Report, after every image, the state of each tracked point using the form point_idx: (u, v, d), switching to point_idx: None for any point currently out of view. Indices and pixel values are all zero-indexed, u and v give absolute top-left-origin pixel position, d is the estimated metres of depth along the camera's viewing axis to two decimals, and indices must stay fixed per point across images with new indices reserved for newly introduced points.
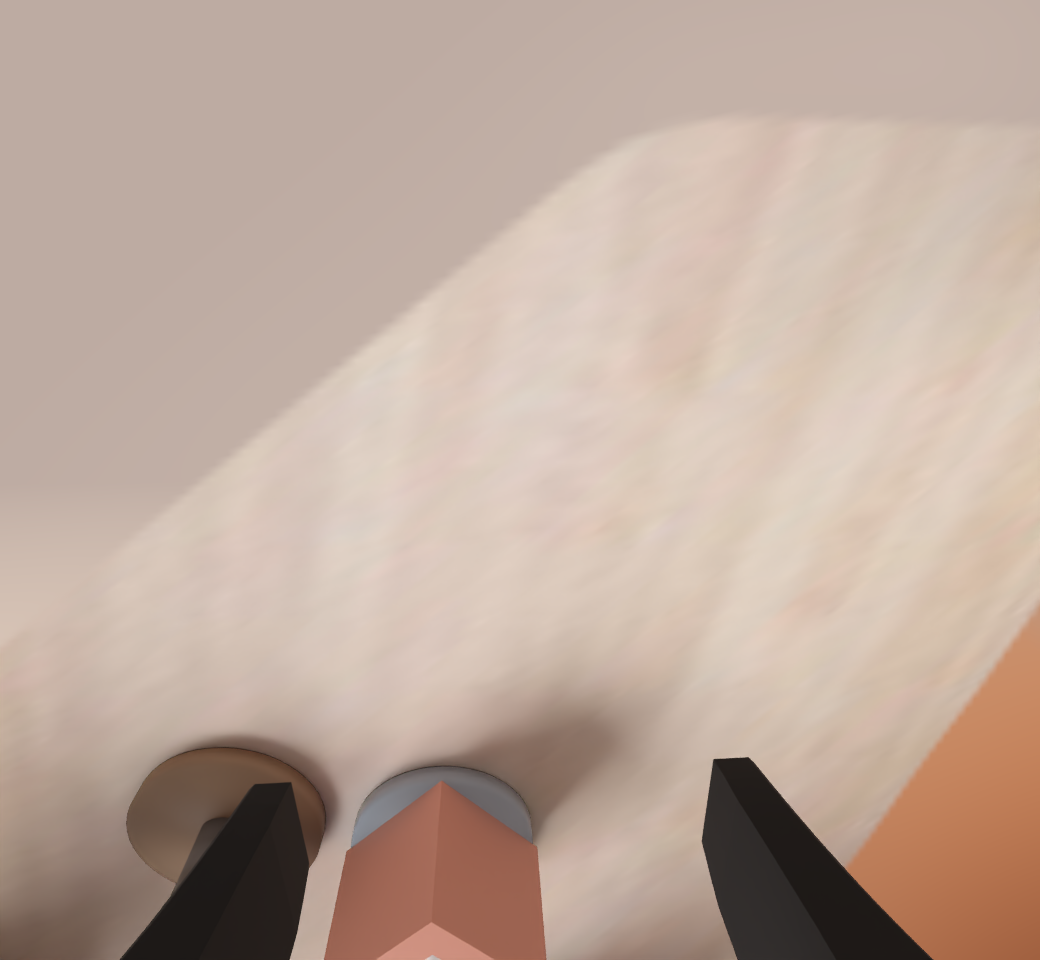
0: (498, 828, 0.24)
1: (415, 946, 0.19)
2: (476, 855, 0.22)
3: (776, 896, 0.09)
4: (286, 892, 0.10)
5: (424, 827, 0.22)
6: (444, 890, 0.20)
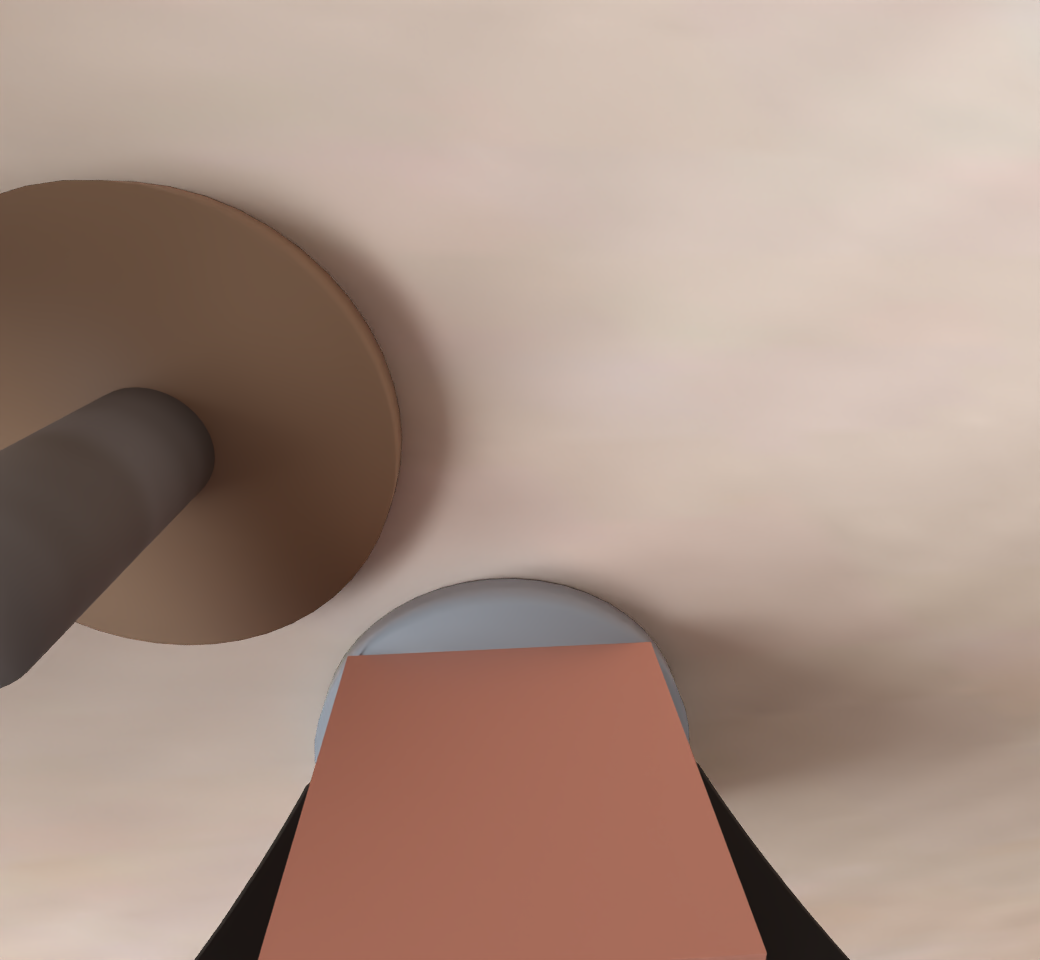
0: None
1: None
2: None
3: None
4: None
5: (627, 706, 0.10)
6: None
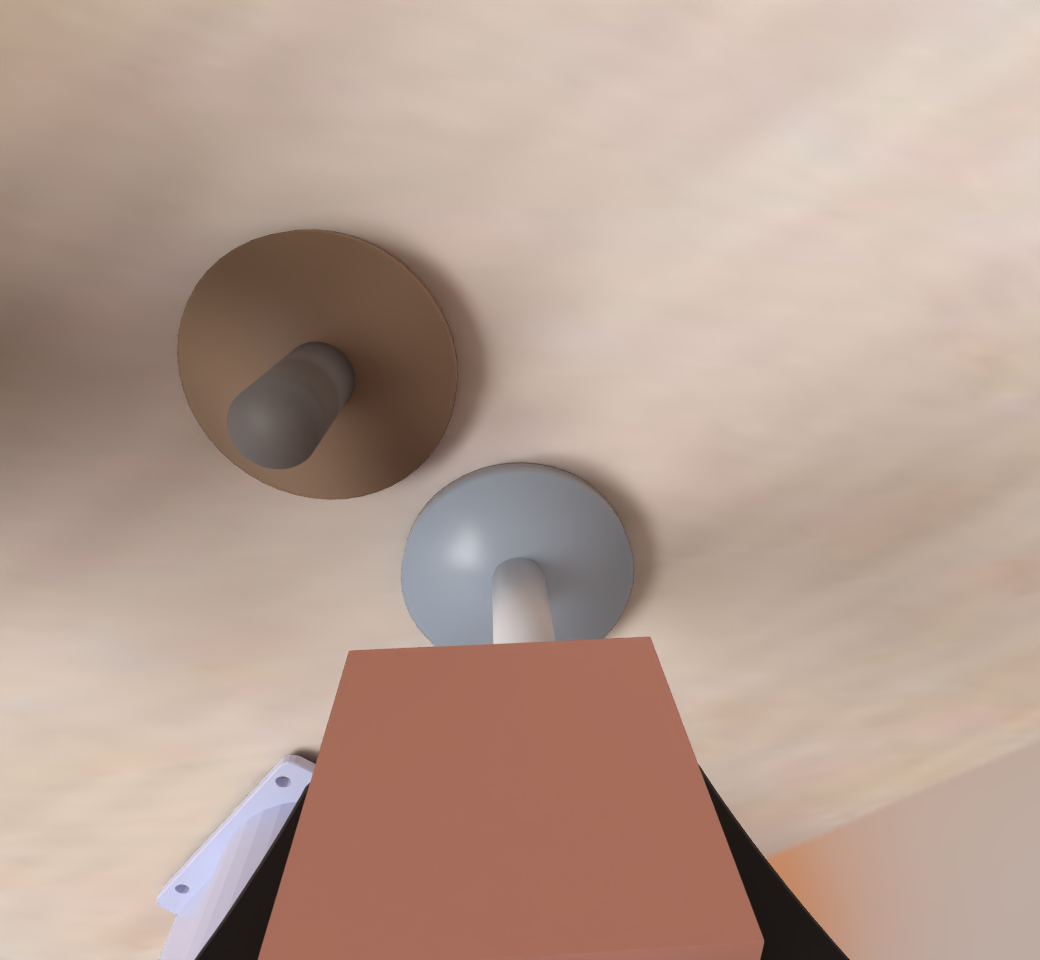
0: None
1: None
2: None
3: None
4: None
5: (626, 700, 0.10)
6: None
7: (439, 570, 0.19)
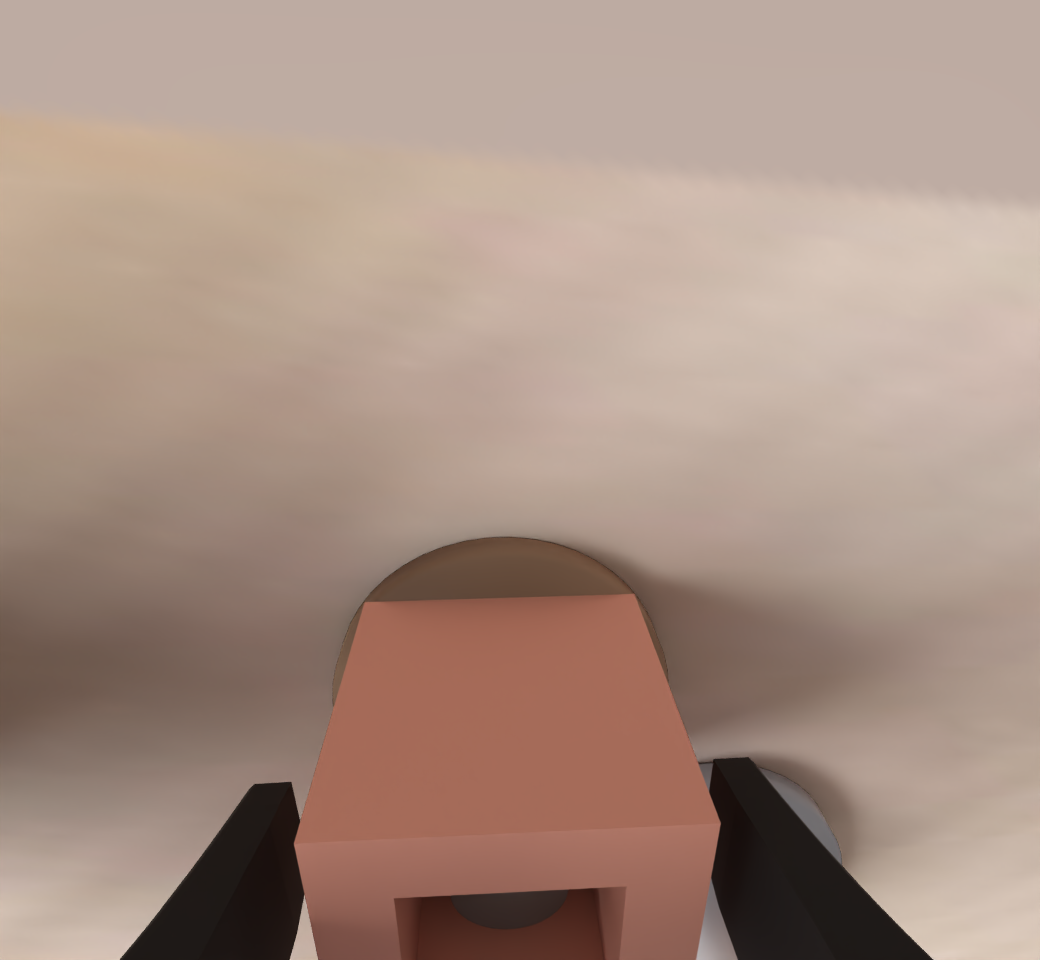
0: None
1: (626, 852, 0.08)
2: None
3: (776, 896, 0.09)
4: (286, 892, 0.10)
5: (611, 644, 0.11)
6: None
7: None
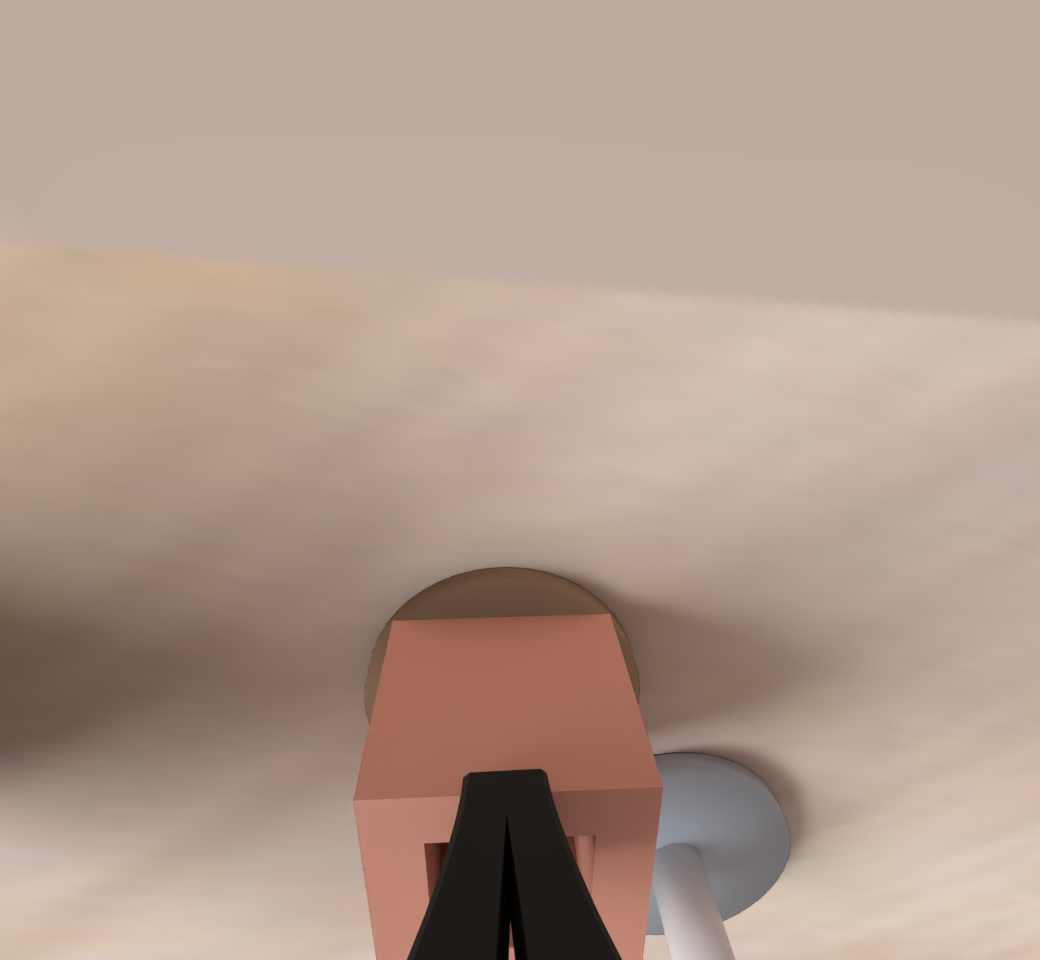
0: None
1: (594, 808, 0.11)
2: None
3: (519, 912, 0.09)
4: (508, 879, 0.10)
5: (589, 654, 0.14)
6: None
7: None
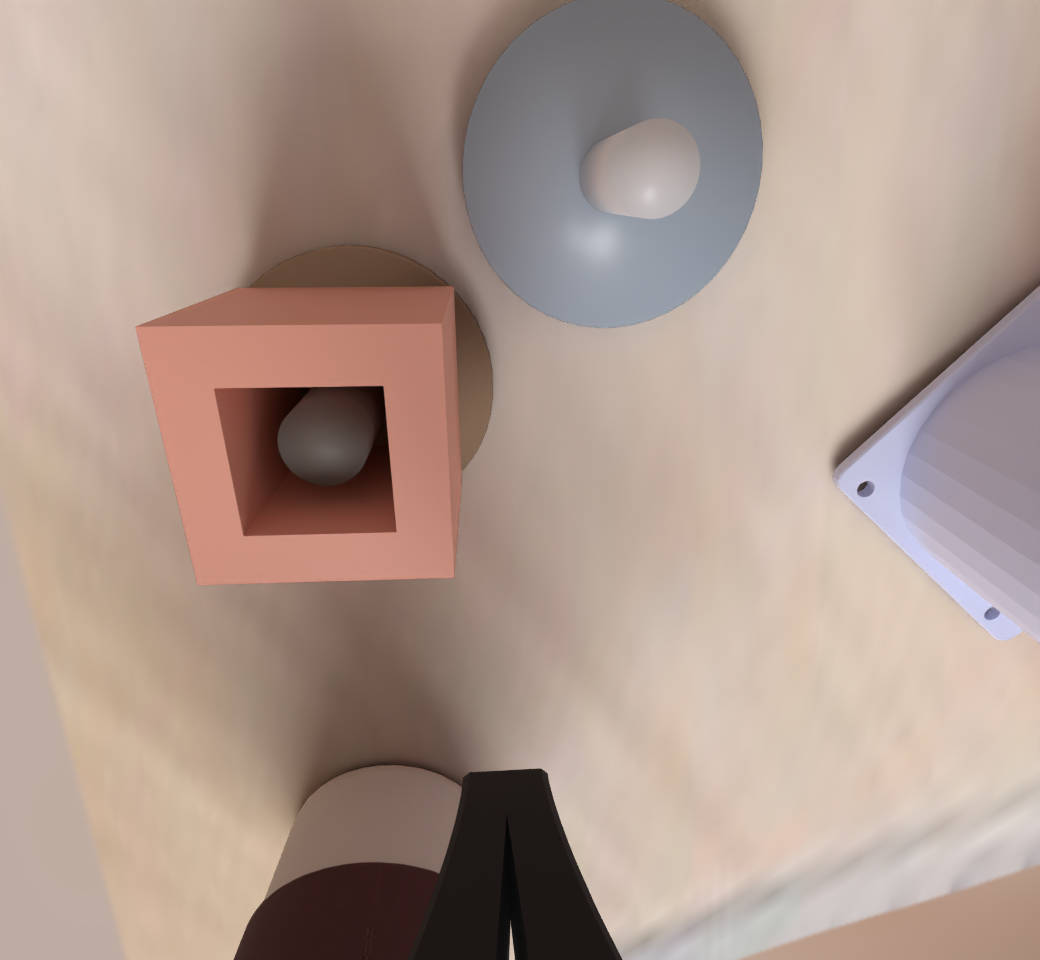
0: (360, 288, 0.15)
1: (176, 391, 0.11)
2: (293, 299, 0.14)
3: (519, 912, 0.09)
4: None
5: None
6: (189, 315, 0.12)
7: (589, 280, 0.16)
